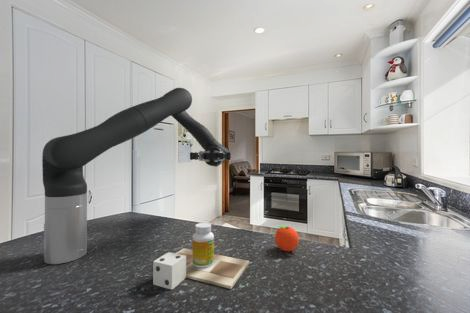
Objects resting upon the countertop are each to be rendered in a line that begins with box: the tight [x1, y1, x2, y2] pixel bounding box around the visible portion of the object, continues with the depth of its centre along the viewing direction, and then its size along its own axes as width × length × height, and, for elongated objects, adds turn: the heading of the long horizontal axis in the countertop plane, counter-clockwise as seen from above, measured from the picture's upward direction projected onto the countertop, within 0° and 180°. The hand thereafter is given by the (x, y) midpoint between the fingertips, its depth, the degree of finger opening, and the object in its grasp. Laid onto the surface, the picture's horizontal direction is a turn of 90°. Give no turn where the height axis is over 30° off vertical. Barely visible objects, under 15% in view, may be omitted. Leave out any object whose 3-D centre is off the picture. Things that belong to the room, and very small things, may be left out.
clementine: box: [272, 225, 300, 252], centre depth 65 cm, size 8×7×7 cm
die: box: [152, 251, 186, 290], centre depth 49 cm, size 5×5×5 cm
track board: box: [174, 247, 250, 290], centre depth 55 cm, size 20×12×1 cm, turn 68°
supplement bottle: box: [191, 222, 215, 268], centre depth 55 cm, size 5×5×10 cm
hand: (207, 156), depth 71 cm, fingers open, 8 cm apart
